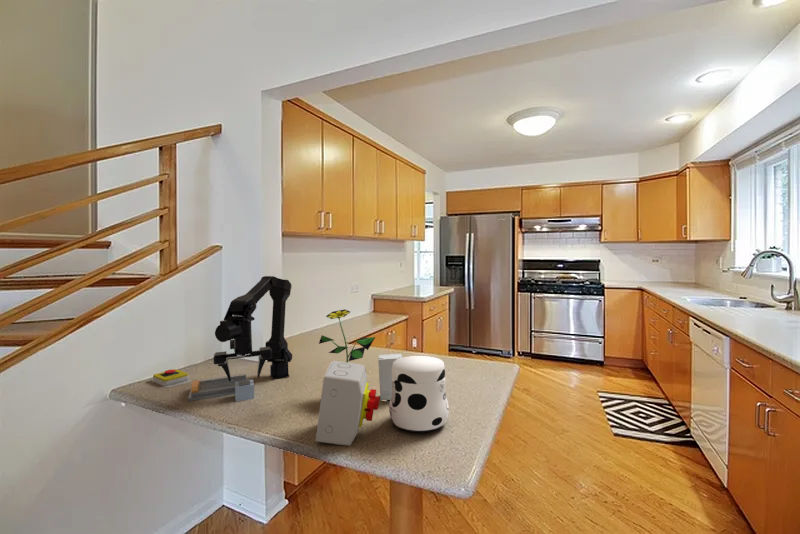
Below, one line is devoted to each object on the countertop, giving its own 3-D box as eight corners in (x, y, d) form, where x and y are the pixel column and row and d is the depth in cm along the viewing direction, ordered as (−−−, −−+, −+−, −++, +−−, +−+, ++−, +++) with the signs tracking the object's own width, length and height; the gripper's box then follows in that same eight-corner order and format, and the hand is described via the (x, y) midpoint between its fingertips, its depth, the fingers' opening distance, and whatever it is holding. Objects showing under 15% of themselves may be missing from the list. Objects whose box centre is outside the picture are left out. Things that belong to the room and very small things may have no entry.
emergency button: (174, 365, 160) (192, 371, 152) (175, 375, 161) (192, 382, 152) (149, 371, 153) (166, 377, 144) (150, 381, 153) (167, 389, 144)
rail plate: (248, 380, 151) (248, 370, 151) (250, 391, 139) (249, 380, 139) (191, 388, 143) (191, 378, 143) (187, 401, 131) (187, 389, 131)
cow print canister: (460, 422, 112) (459, 361, 111) (424, 444, 99) (423, 376, 98) (415, 406, 124) (414, 351, 123) (377, 425, 111) (376, 364, 110)
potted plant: (315, 395, 134) (313, 311, 133) (365, 387, 141) (364, 307, 140) (326, 415, 118) (323, 319, 116) (382, 405, 125) (381, 314, 124)
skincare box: (403, 394, 134) (402, 353, 133) (404, 401, 128) (403, 357, 127) (379, 395, 134) (378, 353, 133) (379, 402, 127) (378, 358, 127)
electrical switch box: (371, 454, 99) (381, 379, 98) (314, 446, 99) (324, 371, 98) (375, 428, 113) (384, 362, 113) (326, 421, 114) (334, 355, 113)
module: (253, 393, 138) (252, 378, 138) (254, 398, 133) (253, 383, 132) (235, 395, 136) (234, 381, 135) (235, 401, 130) (235, 386, 130)
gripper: (268, 328, 144) (270, 369, 145) (214, 333, 137) (215, 376, 138) (271, 334, 134) (273, 377, 135) (212, 340, 127) (214, 386, 127)
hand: (244, 379), depth 134 cm, fingers open, 9 cm apart
